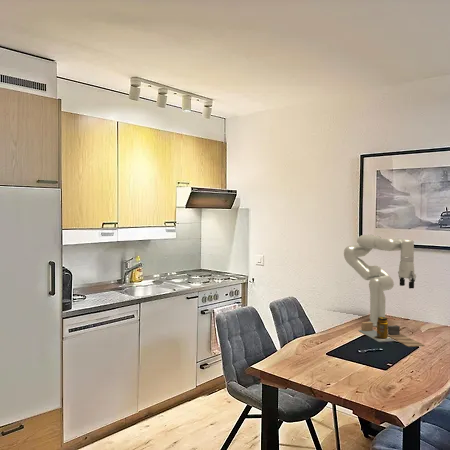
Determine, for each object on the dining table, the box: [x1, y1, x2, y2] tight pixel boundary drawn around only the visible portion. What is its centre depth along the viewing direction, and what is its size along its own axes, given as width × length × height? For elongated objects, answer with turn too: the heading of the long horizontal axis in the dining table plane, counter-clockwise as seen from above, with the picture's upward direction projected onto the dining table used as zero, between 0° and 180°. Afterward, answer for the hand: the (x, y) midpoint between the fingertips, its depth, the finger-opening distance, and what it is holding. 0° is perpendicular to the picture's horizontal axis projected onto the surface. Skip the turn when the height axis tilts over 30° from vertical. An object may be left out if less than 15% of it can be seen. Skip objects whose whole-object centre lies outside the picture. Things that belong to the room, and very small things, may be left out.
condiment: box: [371, 316, 390, 340], centre depth 262 cm, size 7×8×12 cm
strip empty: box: [388, 325, 425, 348], centre depth 259 cm, size 24×10×6 cm, turn 11°
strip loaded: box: [358, 321, 396, 343], centre depth 268 cm, size 24×10×6 cm, turn 11°
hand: (406, 286), depth 275 cm, fingers open, 9 cm apart
